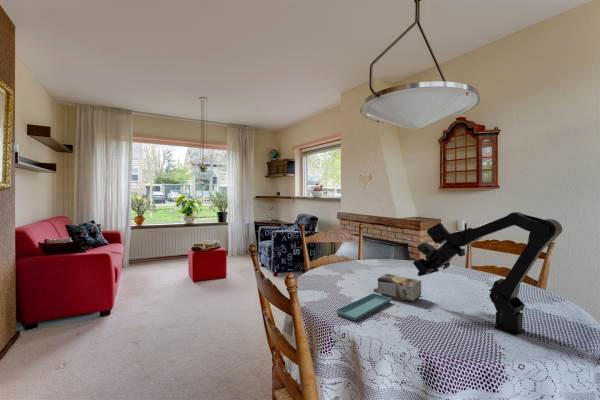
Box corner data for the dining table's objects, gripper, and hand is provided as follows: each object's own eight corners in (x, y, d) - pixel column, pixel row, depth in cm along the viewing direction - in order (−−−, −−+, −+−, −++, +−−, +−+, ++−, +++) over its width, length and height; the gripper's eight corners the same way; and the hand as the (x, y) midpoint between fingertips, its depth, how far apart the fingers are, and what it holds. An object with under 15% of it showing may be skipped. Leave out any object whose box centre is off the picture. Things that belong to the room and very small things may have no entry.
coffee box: (413, 285, 120) (377, 278, 131) (413, 301, 121) (377, 292, 131) (421, 280, 127) (386, 273, 138) (421, 294, 127) (386, 286, 138)
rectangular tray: (355, 323, 104) (355, 316, 104) (335, 316, 110) (335, 309, 110) (392, 304, 122) (392, 298, 122) (372, 298, 128) (372, 292, 128)
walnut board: (420, 295, 130) (420, 292, 130) (404, 301, 123) (404, 298, 123) (389, 286, 143) (389, 284, 143) (373, 291, 136) (373, 288, 136)
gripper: (442, 235, 125) (418, 256, 134) (417, 239, 114) (393, 262, 123) (461, 256, 119) (435, 277, 128) (437, 263, 108) (410, 285, 117)
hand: (418, 275), depth 124 cm, fingers closed
